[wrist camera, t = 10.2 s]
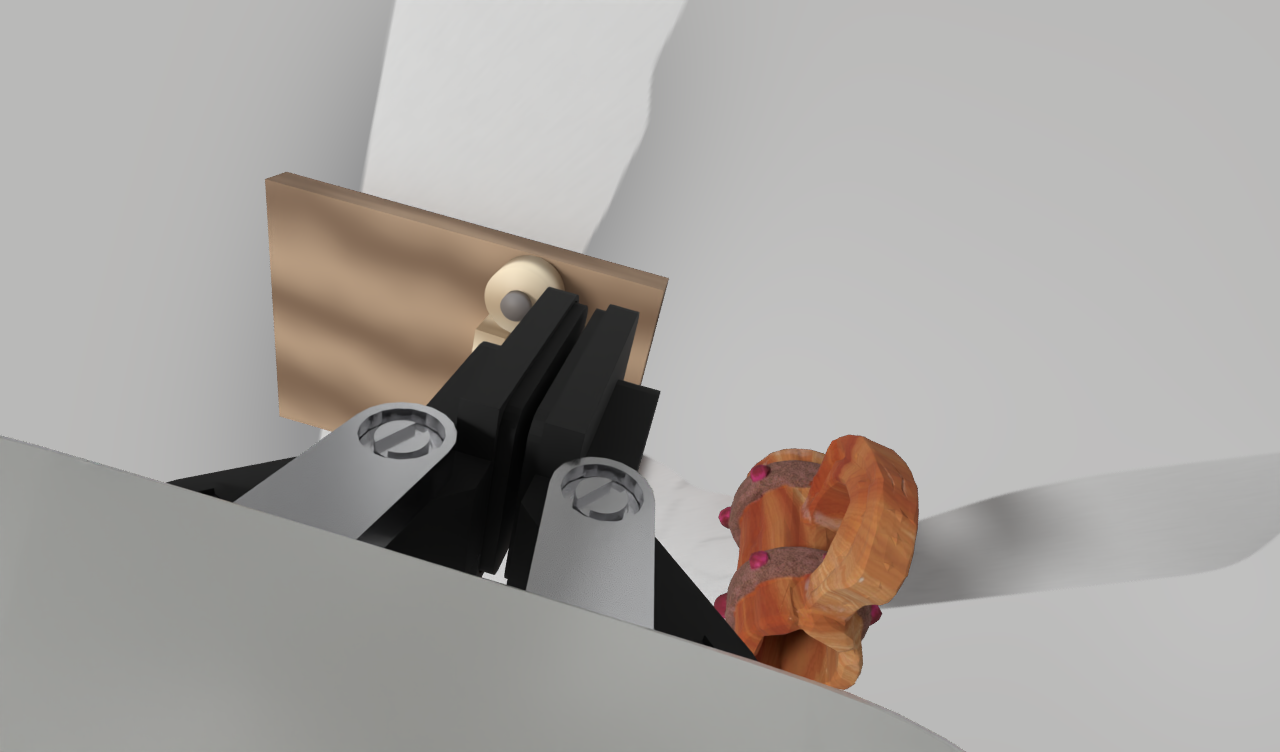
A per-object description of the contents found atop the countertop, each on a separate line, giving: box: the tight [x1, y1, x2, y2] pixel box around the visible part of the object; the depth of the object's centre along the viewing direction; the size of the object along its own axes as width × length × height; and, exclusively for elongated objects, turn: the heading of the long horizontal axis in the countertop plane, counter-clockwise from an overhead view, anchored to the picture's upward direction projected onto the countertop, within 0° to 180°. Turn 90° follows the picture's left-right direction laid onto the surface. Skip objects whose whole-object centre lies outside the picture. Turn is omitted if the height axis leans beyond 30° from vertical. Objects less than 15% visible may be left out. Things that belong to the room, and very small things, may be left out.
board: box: [265, 172, 669, 432], centre depth 44 cm, size 17×24×2 cm
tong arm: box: [472, 255, 565, 352], centre depth 42 cm, size 17×4×2 cm, turn 165°
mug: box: [714, 435, 919, 690], centre depth 38 cm, size 15×8×15 cm, turn 157°
